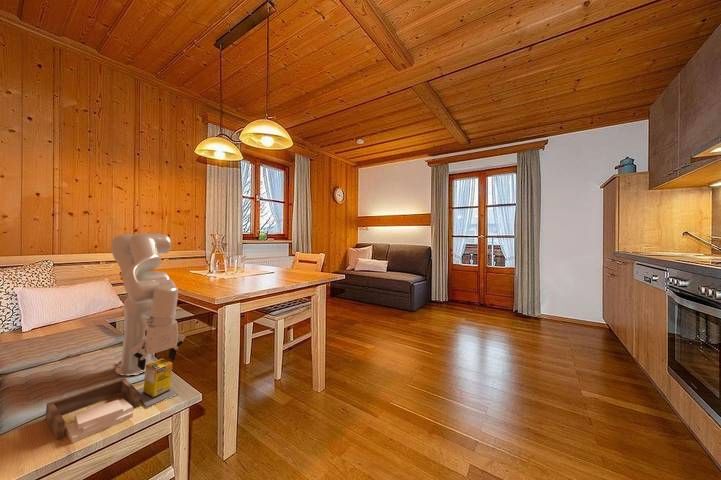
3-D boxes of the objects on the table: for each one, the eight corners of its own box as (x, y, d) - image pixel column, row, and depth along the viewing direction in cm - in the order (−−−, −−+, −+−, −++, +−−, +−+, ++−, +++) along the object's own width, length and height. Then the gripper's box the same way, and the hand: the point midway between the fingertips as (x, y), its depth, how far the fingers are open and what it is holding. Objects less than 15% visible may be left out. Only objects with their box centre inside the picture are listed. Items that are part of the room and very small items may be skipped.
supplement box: (170, 390, 104) (173, 362, 104) (153, 399, 99) (156, 369, 98) (159, 385, 106) (162, 357, 106) (142, 393, 101) (145, 364, 100)
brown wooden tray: (45, 418, 85) (46, 403, 85) (123, 391, 101) (124, 377, 101) (57, 440, 79) (58, 423, 78) (138, 406, 95) (139, 392, 95)
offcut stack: (64, 430, 82) (65, 415, 82) (124, 406, 94) (125, 393, 94) (72, 443, 78) (73, 428, 78) (133, 417, 90) (135, 403, 90)
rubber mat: (131, 392, 101) (131, 391, 101) (162, 381, 110) (162, 380, 110) (146, 408, 95) (146, 406, 95) (178, 394, 104) (178, 393, 104)
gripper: (138, 328, 92) (132, 377, 93) (192, 317, 106) (187, 359, 108) (129, 321, 95) (123, 367, 97) (182, 310, 110) (177, 351, 112)
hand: (157, 363), depth 102 cm, fingers open, 9 cm apart
